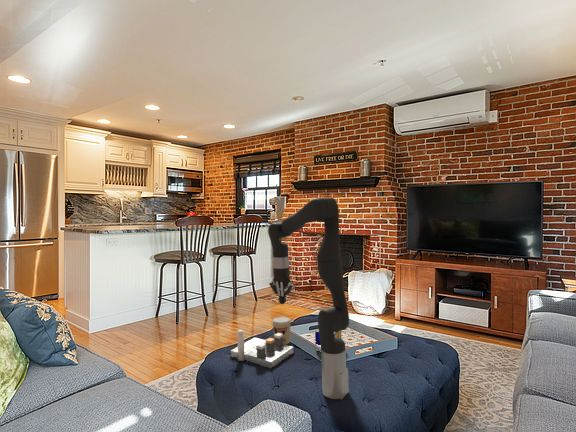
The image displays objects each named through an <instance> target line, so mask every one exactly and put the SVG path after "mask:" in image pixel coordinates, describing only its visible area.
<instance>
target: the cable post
mask: <svg viewBox="0 0 576 432" xmlns="http://www.w3.org/2000/svg"><path fill="white" fill-rule="evenodd" d="M244 331H245V330H243V329H239V330H237V331H236V334H237V347H238V358H237V362H239V361H244V360H245V358H244V354H245V351H244V343H245V333H244ZM244 362H245V361H244Z"/></svg>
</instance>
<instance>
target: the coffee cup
mask: <svg viewBox="0 0 576 432" xmlns="http://www.w3.org/2000/svg"><path fill="white" fill-rule="evenodd" d="M291 322H292V321H291V319H290V317H287V316H277V317H275V318H273V320H272V327H273V336H274V335H275V334H277V333H281V334H283V344H285V345H289V344H290V342H291Z"/></svg>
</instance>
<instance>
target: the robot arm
mask: <svg viewBox="0 0 576 432" xmlns="http://www.w3.org/2000/svg"><path fill="white" fill-rule="evenodd" d="M313 222H315V223H316V222H317V223H321V222H323V225H324V234H323V238H322V241H321V244H320V246H319V248H318V250H317V251H318V252H317V255H316V256H317V257H316V261H317V262H316V263H317V272H318V275H319V278H320V279H321V281H322V282H323V283H324V285H325V286H326V287H327V289H328V291H329V292H330V295H331V299H332V306H330V307H327V308H322V309H320V310H319V312H318V314H317V315H318V316H317V324H318V325H317V327H318V329H319V340H320V344H321V352H320V353H321V355H320V356H321V358H320V359H321V361H320V362H321V382H322V384H321V385H322V388H321V389H322V394H323V396H324V397H326V398H328V399H330V400H331V399H332V400H343V399H344V398H345V397H346V396H347V395H348V394H349V392H350V391H349V389H350V388H349V368H348V367H347V365H346V364H347V363H346V360H347V359H346V342H345V340H343V339H339V338H335V337H334V332H338V331H341V332H343V331H344V330H347V329H348V328H349V324H350V314H349V309H348V303H347V299H346V292H345V285H344V276H343V264H342V263H343V262H342V256H341V247H340V246H341V244H340V211H339V205H338V202H337V200H336V199H335V198H334V197H331V196H330V197H328V196H327V197H314V198H312V199H311V200H309V201H308V202H307V203H306V204H305V205H303V207H302V208H300V209H299V210H298V211H296V212H294V214H291V215H289V216H287V217H286V218H284V219H283V220H282V221H281V222H280V221H279V222H272V223H270V224H269V226H268V228H267V233H268V236H269V240H270V244H271V247H272V248H271V249H272V273H273V274H272V276H273V279H272V281H271V282H269V283H268V284H269V286H270V288H271V289H272V291H273V293H274V294H275V295H277V296H278V302H279V304H280V305H284V304H286V301H287V295H290V294H291V292H292V291H293V289H294V287H295V284H294V283H292V282H291V279H290V275H291V274H290V271H291V270H290V258H289V245H288V244H287V243H285V242H281V240H280V239H282V238H283V239H284V238H288V237H290V236H291V235H293V233H295V232H298V231H300V230H301V229H303V228H304V227H305V225H306V224H309V223H313Z"/></svg>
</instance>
